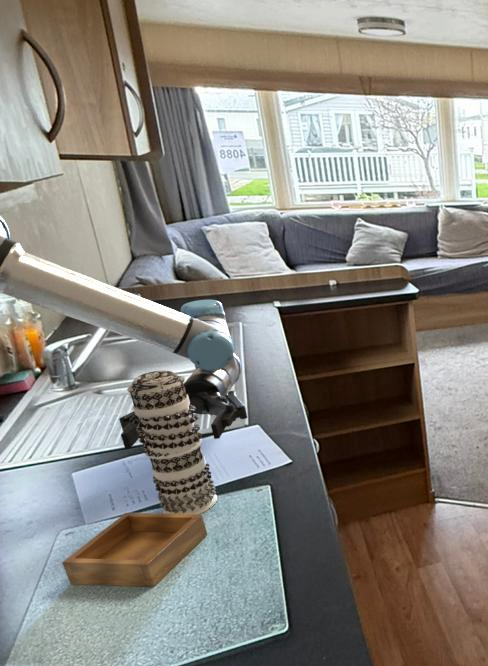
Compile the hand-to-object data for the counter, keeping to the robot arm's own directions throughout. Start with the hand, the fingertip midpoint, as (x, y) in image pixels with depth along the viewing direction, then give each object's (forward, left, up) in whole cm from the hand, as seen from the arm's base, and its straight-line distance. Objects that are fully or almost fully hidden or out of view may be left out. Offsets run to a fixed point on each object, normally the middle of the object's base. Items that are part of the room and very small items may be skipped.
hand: (170, 436), depth 111 cm
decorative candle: (0, 0, -14) cm, 14 cm away
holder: (+2, -15, -14) cm, 20 cm away
